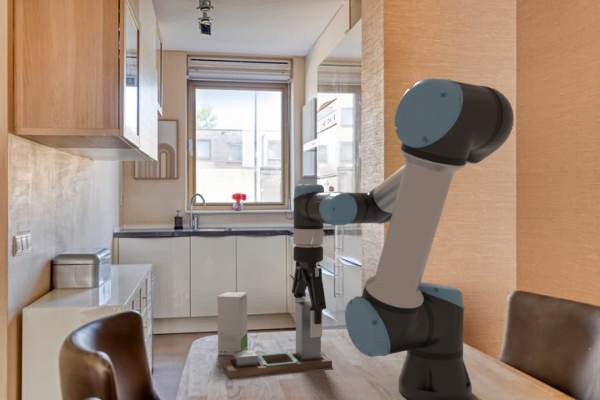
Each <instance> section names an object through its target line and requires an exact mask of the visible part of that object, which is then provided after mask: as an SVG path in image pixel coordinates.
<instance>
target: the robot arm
mask: <svg viewBox="0 0 600 400" xmlns="http://www.w3.org/2000/svg"><path fill="white" fill-rule="evenodd" d="M513 110H514V109H513V107H512V103H510V101H509V99H508V98H507V97H506V96H505V95H504V93H502V92H500V91H499V90H497V89H496V88H493V87H490V86H485V85H477V84H472V83H466V82H463V81H462V82H460V81H456V80H451V79H450V78H449V79H448V78H447V79H446V78H425V79H421V80H419V81H417V82H415V84H414V85H413V86H410V87H409V88H408V89H407V90H406V91H405V92H404V93H403V95H402V97H401V98H400V100H399V101H398V104H397V107H396V110H395V113H394V127H396V129H395V133H396V136H397V138H398V140H399V141H400V142H401V146H400V152H401V154H402V155H403V157H404V159H405V164H404V165H403V166H401V167H399V169H398V170H396V171H395V172H393V173H392V174H391V175H390V176H388V177H387V178H386V179H384V180H383V181H382V182H381V183H379V185H376V186H375V187H374V188H373V189H372V190H370V191H368V192H342V191H333V192H330V191H329V192H328V191H327V192H325V189H324V188H325V187H324V186H323V185H322V184H317V183H315V184H313V183H312V184H296V185H295V187H294V192H293V193H294V195H293V201H292V202H293V228H292V229H293V232H292V233H293V234H292V235H293V237H292V240H293V241H292V243H293V245H294V246H293V250H292V251H293V254H292V255H293V256H292V257H293V261H294V262H295V270H294V275H293V282H292V286H291V287H292V288H291V293H292V294H293V297H294V309H293V311H294V313H293V315H294V320H293V322H294V323H295V324H296V302H306V297H307V294H306V290H307V291H308V294H309V301H311V305H312V307H311V308H310V309H309V310H310V311H311V326H310V337H311V338H313V337H321V338H322V337H323V311H324V310H326V309H327V304H326V303H327V302H326V297H325V295H326V294H325V290H324V282H323V270H322V267H317V263H320V262H323V260H324V247H323V246H322V245H324V236H325V235H326V233H325V231H324V225H331V226H346V225H349V224H350V225H352V224H353V225H354V224H355V225H356V224H381V225H382V224H385V223H389V224H388V227H387V231H386V233H385V239H384V243H383V246H382V250H381V253H380V258H379V261H378V264H377V269H376V273H375V275H373V276H370V277H368V278H367V279H366V281H365V282H364V287H363V290H362V293H361V294H362V295H360V296H358V295H357V296H355V297H354V298H351V299H350V300H349V301H348V302H347V303H346V304H347V305H346V307H345V311H344V319H345V321H344V322H345V327H346V330H347V333H348V336H349V339H350V340H351V342H352V344H353V346H354V347H355V348H356V349H357V351H359V353H361V354H363V355H365V356H366V357H370V358H375V357H386V356H388V355H393V354H397V353H401V352H406V356H405V359H404V361H403V364H402V368H401V372H400V374H399V376H398V392H399V393H400V394H401V395H402V396H404V397H405V398H407V399H408V400H471V399H472V396H473V392H472V391H473V390H472V389H473V387H472V386H473V385H472V382H471V379H470V376H469V373H468V370H467V366H466V364H465V361H464V310H465V306H464V296H463V292H462V291H461V290H460V289H459V288H456V287H454V286H449V285H443V284H437V283H430V282H429V283H428V282H422V280H423V279H422V278H423V275H424V273H425V269H426V266H427V263H428V260H429V255H430V253H431V250H432V246H433V243H434V239H435V237H436V233H437V229H438V227H439V223H440V219H441V216H442V213H443V209H444V206H445V203H446V200H447V197H448V194H449V190H450V186H451V183H452V180H453V176H454V174H455V173H456V172H457V171H460V170H461V169H462V168H465V167H466V166H467V164H470V165H475V164H479V163H480V162H481V161H483V160H484V159H486V158H488V157H489V156H491V155H492V154H494V152H496V151H497V150H499V148H501V147H502V146H503V145H504V144H505V142H506V141H507V140H508V139H509V137H510V135H511V132H512V130H513V126H514V120H515V117H514V116H515V115H514V111H513Z"/></svg>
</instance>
